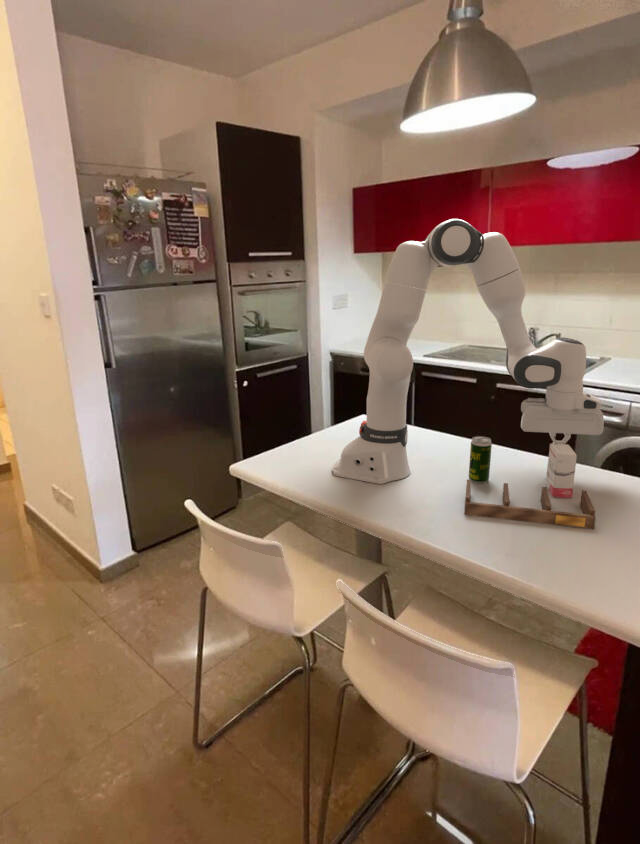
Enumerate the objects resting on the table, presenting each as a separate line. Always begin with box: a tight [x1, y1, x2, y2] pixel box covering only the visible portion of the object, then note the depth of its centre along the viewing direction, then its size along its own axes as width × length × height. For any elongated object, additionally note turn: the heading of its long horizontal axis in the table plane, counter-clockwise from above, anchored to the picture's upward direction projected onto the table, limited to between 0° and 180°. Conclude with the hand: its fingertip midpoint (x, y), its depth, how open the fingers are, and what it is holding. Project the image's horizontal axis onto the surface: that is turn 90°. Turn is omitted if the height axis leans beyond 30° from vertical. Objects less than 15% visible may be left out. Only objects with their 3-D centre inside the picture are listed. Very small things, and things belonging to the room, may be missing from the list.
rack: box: [463, 478, 596, 530], centre depth 123 cm, size 28×12×4 cm, turn 73°
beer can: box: [468, 436, 493, 485], centre depth 139 cm, size 5×5×12 cm
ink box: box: [545, 442, 578, 499], centre depth 132 cm, size 9×5×12 cm, turn 168°
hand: (558, 447), depth 140 cm, fingers closed
